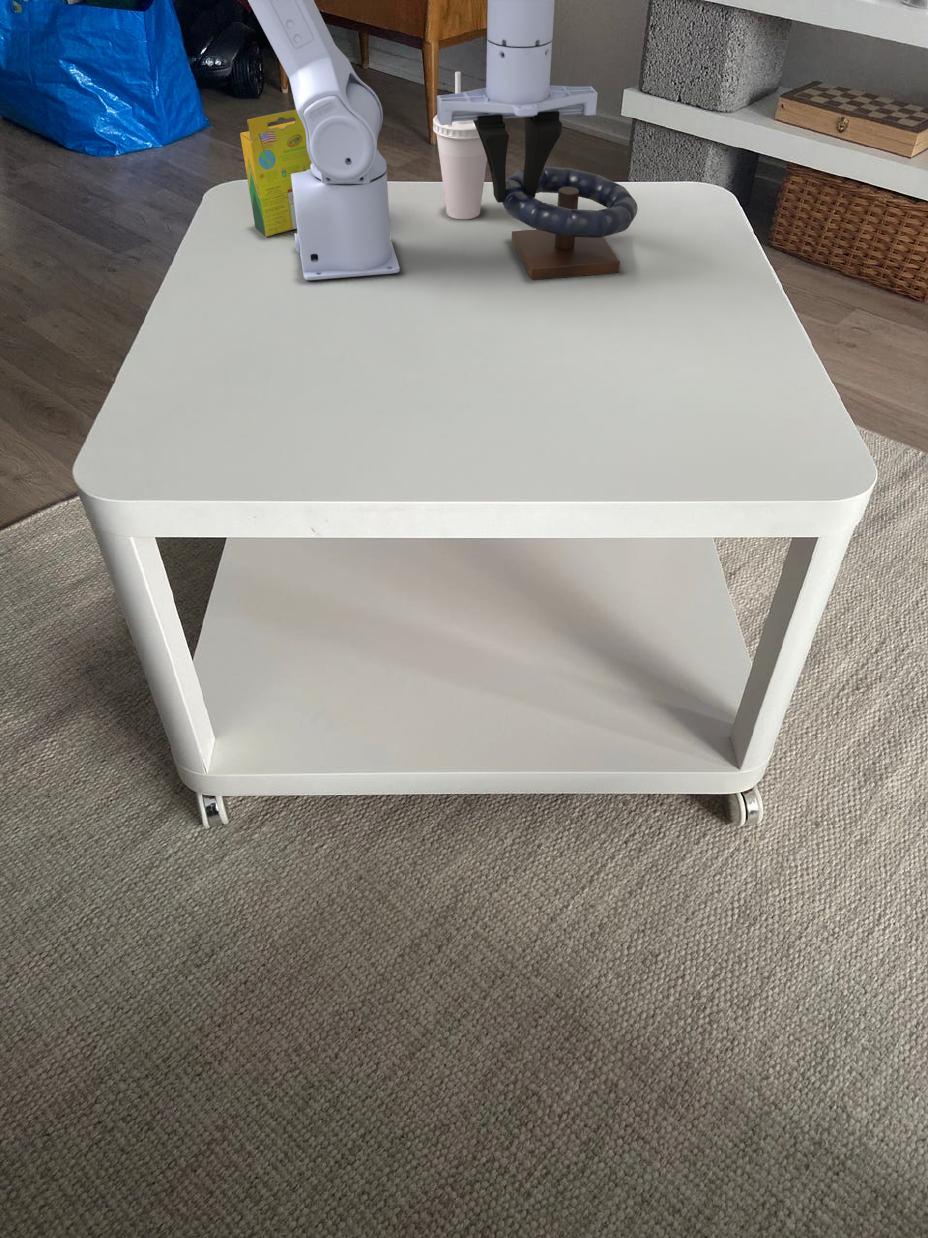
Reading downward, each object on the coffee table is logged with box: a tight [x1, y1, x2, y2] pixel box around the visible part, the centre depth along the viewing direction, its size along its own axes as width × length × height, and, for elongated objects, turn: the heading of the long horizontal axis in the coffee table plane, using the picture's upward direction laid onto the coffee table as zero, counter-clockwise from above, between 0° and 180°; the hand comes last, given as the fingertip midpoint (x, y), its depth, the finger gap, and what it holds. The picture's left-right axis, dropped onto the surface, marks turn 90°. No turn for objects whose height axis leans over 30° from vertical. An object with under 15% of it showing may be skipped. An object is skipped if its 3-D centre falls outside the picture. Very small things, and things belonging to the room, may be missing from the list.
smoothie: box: [432, 71, 488, 220], centre depth 103 cm, size 6×6×14 cm
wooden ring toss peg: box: [510, 187, 621, 281], centre depth 97 cm, size 9×9×7 cm
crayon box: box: [239, 108, 312, 238], centre depth 101 cm, size 7×3×12 cm, turn 123°
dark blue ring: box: [501, 166, 639, 238], centre depth 95 cm, size 13×13×2 cm
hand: (513, 197), depth 94 cm, fingers closed on dark blue ring, 2 cm apart
